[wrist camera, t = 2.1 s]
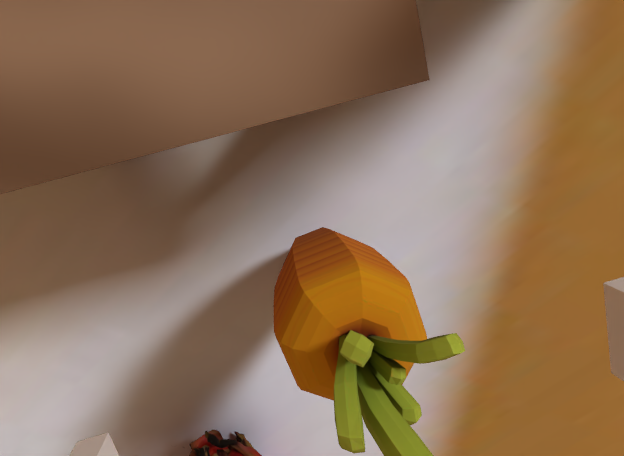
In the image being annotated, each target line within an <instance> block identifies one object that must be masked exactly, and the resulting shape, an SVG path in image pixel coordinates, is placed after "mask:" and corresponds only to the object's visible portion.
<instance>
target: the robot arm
mask: <svg viewBox="0 0 624 456" xmlns="http://www.w3.org/2000/svg"><path fill="white" fill-rule="evenodd" d="M604 295H605V306H606V317H607V329H608V340H609V351H610V363H611V373H613V374H614V375H615V376H617V377H618V378H620V379H621V380H623V381H624V277H622V278H618V279H615V280H612V281H609V282H605V283H604ZM70 456H119V454H118V452H117V450H116V448H115V445H114V443H113V441H112V439H111V437H110V434H109V432H108V433H104V434H101V435H98V436H94V437H91V438H88V439H84V440H81V441H78V442H77V443H76V445H75V447H74V449H73V450H72V452H71V454H70Z"/></svg>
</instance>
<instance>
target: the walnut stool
mask: <svg viewBox="0 0 624 456" xmlns="http://www.w3.org/2000/svg"><path fill="white" fill-rule="evenodd" d="M427 80H429V75H428V69H427V63H426V57H425V51H424V46H423V40H422V34H421V28H420V22H419V17H418V11H417V5H416V0H0V194H2V193H6V192H10V191H14V190H17V189H21V188H25V187H29V186H32V185H36V184H40V183H44V182H47V181H51V180H55V179H59V178H62V177H66V176H70V175H74V174H78V173H81V172H85V171H89V170H93V169H96V168H100V167H104V166H108V165H111V164H115V163H119V162H123V161H126V160H130V159H134V158H138V157H141V156H145V155H149V154H153V153H156V152H160V151H164V150H168V149H171V148H175V147H179V146H183V145H186V144H190V143H194V142H198V141H201V140H205V139H209V138H213V137H216V136H220V135H224V134H228V133H232V132H235V131H239V130H243V129H247V128H250V127H254V126H258V125H262V124H265V123H269V122H273V121H277V120H280V119H284V118H288V117H292V116H295V115H299V114H303V113H307V112H310V111H314V110H318V109H322V108H325V107H329V106H333V105H337V104H340V103H344V102H348V101H352V100H355V99H359V98H363V97H367V96H370V95H374V94H378V93H382V92H385V91H389V90H393V89H397V88H401V87H404V86H408V85H412V84H416V83H419V82H423V81H427Z"/></svg>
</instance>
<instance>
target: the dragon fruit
mask: <svg viewBox="0 0 624 456" xmlns="http://www.w3.org/2000/svg"><path fill="white" fill-rule="evenodd" d="M209 431H210V430H209ZM209 431H208V432H207V431H206V432H205V434H204V435H203V436H202V437H200V438H199V439H197V440H196V441H194V442H192V443H191V444H190V446H191V449H192V451H191V453H190V455H189V456H261V455H260V454H259V453H258V452H257V451H256V450H255V449H254V448H253V447H252V445H251V444H250V443H249V442H248V441H247V440H246V438H245V436H244V434H239V433H238V432H235V434H236V436H237V437H236V440H237V441H235V440H229V439H227V440H226V439H223V438H222V435H221V434H220V432H219V431H216V430H211V431H210V432H209Z"/></svg>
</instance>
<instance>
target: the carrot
mask: <svg viewBox="0 0 624 456" xmlns="http://www.w3.org/2000/svg"><path fill="white" fill-rule="evenodd" d="M274 332H275V336H276V338H277V340H278V343H279V345H280V347H281V349H282V352H283V354H284V356H285V358H286V361H287V363H288V365H289V367H290V370H291V372H292V374H293V376H294V379H295V381H296V383H297V385H298V386H299V388H300V389H301V390H304V391H307V392H310V393H313V394H316V395H319V396H322V397H325V398H328V399H331V400H334V410H335V422H336V429H337V435H338V441H339V445H340V446H341V448H342V449H345V450H347V451H350V452H352V453H360V452H365V444H364V433H363V422H362V417H363V420H364V422H365V424H366V427H367V428H368V430H369V432H370V433H371V435H372V437H373V438H374V440H375V442H376V443H377V445H378V446H379V448H380V450H381V451H382V453H383V455H384V456H433V455H432V453H431V452H430V451H429V449H428V448H427V447H426V445H425V444H424V443H423V442H422V440H421V439H420V438H419V436H418V435H417V434H416V433H415V431H414V430H413V429H412V428H411V427H410V425H412V424H414V423H416V422H417V421H418V420H419V418H420V417H421V416H422V414H421V408H420V405H419V404H418V403H417V402H416V400H415V399H414V398H413V397H412V396H411V395H410V394H409V393H408V391H407V390H406V389H405V388H404V387H403V386H402V384H403V382H404V381H405V379H406V377H407V375H408V373H409V371H410V369H411V368H412V366H413V364H414V363H430V362H435V361H439V360H444V359H447V358H450V357H452V356H455V355H457V354H460V353H462V352H464V351H465V349H464V345H463V341H462V340H461V339H460V337H459V336H458V335H457V333H455V334H448V335H442V336H437V337H433V338H430V339H427V336H426V331H425V328H424V325H423V322H422V319H421V316H420V313H419V310H418V307H417V304H416V301H415V298H414V295H413V292H412V289H411V286H410V283H409V282H408V280H407V278H406V277H405V276H404V275H403V274H402V273H401V272H400V271H399V270H397V269H396V268H395V267H394V266H393V265H392V264H391V263H390V262H389V261H388V260H387V259H386V258H384V257H383V256H382V255H381V254H380V253H378V252H377V251H376V250H375V249H374V248H372V247H370V246H368V245H365V244H363V243H361V242H359V241H356V240H354V239H352V238H349V237H347V236H344V235H342V234H340V233H337V232H335V231H332V230H330V229H327V228H323V227H322V228H320V229H317V230H315V231H312V232H310V233H307V234H305V235H302V236H299V237H297V238H295V241H294V243H293V245H292V247H291V249H290V251H289V254H288V256H287V258H286V260H285V262H284V265H283V267H282V269H281V271H280V273H279V276H278V279H277V282H276V285H275V290H274Z"/></svg>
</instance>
